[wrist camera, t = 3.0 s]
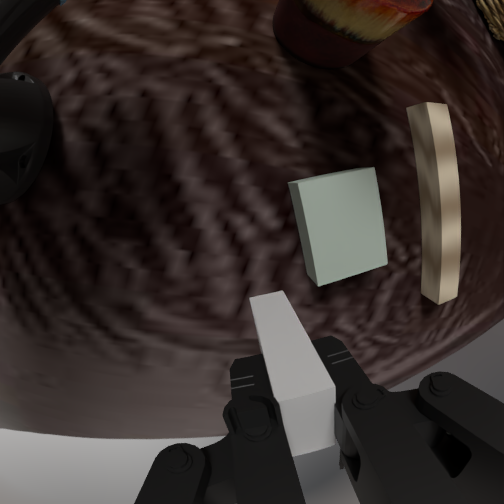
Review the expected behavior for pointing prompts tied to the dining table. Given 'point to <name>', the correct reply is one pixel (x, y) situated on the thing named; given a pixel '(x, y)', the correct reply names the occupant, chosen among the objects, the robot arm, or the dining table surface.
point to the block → (339, 224)
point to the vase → (340, 27)
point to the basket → (493, 16)
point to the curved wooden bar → (437, 199)
